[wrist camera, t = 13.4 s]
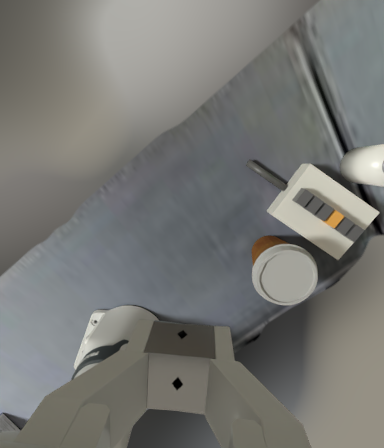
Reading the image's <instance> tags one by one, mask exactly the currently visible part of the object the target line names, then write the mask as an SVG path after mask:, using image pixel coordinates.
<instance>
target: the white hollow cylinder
mask: <svg viewBox="0 0 384 448" xmlns="http://www.w3.org/2000/svg"><path fill="white" fill-rule="evenodd" d="M340 172H341V175H342V176H343V178H344V179H345V180H347V181H349V182H351V183H359V184H367V185H376V186H384V144H381V145H373V146H365V147H357V148H354V149H351V150H350V151H348V152H347V153H346V154H345V155H344V156H343V158H342V160H341V163H340Z"/></svg>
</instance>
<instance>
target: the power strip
mask: <svg viewBox="0 0 384 448" xmlns="http://www.w3.org/2000/svg"><path fill="white" fill-rule="evenodd" d="M246 166H247V167H249V168H250V169H252V170H253V171H255V172H256V173H257V174H259V175H260V176H262V177H263V178H265V179H266V180H268V181H269V182H270V183H272V184H273V185H275V186H276V187H278V188H279V189H281V190H282V191H281V192H280V194H279V195H278V196H277V198H276V199H275V200H274V202H273V203H272V204H271V206H270V207H269V208H268V210H267V212H269V213H270V214H271V215H272V216H274V217H275V218H277V219H278V220H280V221H281V222H283V223H284V224H286V225H287V226H289V227H290V228H291V229H293V230H294V231H296V232H297V233H299V234H300V235H302V236H303V237H305V238H306V239H308V240H309V241H311V242H312V243H313V244H315V245H316V246H318V247H319V248H321V249H322V250H324V251H325V252H327V253H328V254H330V255H331V256H333V257H334V258H335V259H337V260H339V259H340V258H341V257H342V255H343V254H344V253H345V252H346V251H347V250H348V249H349V247H350V246H351V245H352V244H353V243H354V242H355V241H356V240H357V239H358V237H359V236H360V235H361V234H362V233H363V232H364V231H365V229H366V228H367V227H368V226H369V224H370V223H371V222H372V221H373V220H374V219H375V217H376V216H377V215H378V214H379V213H380V212H378V211H377V210H375V209H374V208H372V207H371V206H370V205H368V204H367V203H365V202H364V201H363V200H361V199H360V198H358V197H357V196H356V195H354V194H353V193H351V192H350V191H348V190H347V189H346V188H344V187H343V186H341V185H340V184H339V183H337V182H336V181H334V180H333V179H331V178H330V177H329V176H327V175H326V174H324V173H323V172H322V171H320V170H319V169H317V168H316V167H314V166H313V165H312V164H301V166H300V167H299V168H298V170H297V171H296V172H295V174H294V175H293V176H292V178H291V179H290V180H289V182H288V183H287V184H285V183H283V182H282V181H280V180H279V179H277V178H276V177H275V176H273V175H272V174H270V173H269V172H267V171H266V170H264V169H263V168H262V167H260V166H259V165H257V164H256V163H254V162H253V161H251V160H249V161H248V162H247V164H246Z"/></svg>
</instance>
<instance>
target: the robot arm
mask: <svg viewBox="0 0 384 448" xmlns="http://www.w3.org/2000/svg"><path fill="white" fill-rule="evenodd" d="M95 320H96V321H97V322H96V321H95ZM74 368H75V372H74V374H73V376H72V380H71V381H70V382H68V383H66V384H65V385H63V386H61V387H60V388H58V389H57V390H55V391H53V392H52V393H50V394H49V395H47V396H45V397H44V399H43V400H42V402H41V403H40V405H39V406H38V407H37V409H36V410H35V412H34V413H33V414H32V416H31V417H30V419H29V420H28V421H27V423H26V424H25V426H24V427H23V429H22V430H21V431H20V432H17V431H6V432H0V448H127V444H128V441H129V437H130V433H131V430H132V426H133V425H134V424H135V423H136V422H137V420H138V419H139V418H140V417H141V416H142V415H143V413H144V412H145V411H146V408H147V409H161V410H175V411H183V412H191V413H197V414H205V417H206V419H207V421H208V423H209V424H210V427H211V429H212V430H213V432H214V434H215V436H216V438H217V440H218V442H219V444H220V446H221V447H222V448H311V445H310V443H309V440H308V437H307V435H306V432H305V430H304V427H303V425H302V423H301V422H300V421H299V420H298V419H297V418H296V417H295V416H294V415H293V414H292V413H291V412H290V411H289V410H288V409H287V408H286V407H285V406H284V405H283V404H282V403H281V402H280V401H279V400H278V399H277V398H276V397H275V396H274V395H273V394H272V393H271V392H270V391H269V390H268V389H267V388H265V387H264V385H263V384H261V383H260V382H259V380H257V379H256V378H255V377H254V376H253V375H252V374H251V373H250V372H249V371H248V370H247V369H246V368H245V367H244V366H243V365H242V364H241V363H240V362H237V361H235V358H234V352H233V345H232V339H231V332H230V328H229V327H226V326H206V325H192V324H184V323H175V322H167V321H159V320H158V319H157V317H156V316H154V315H153V314H152V313H151V312H149V311H147V310H145V309H143V308H141V307H137V306H120V307H117V308H114V309H111V310H96V311H94V312H93V314H92V316H91V319H90V321H89V324H88V327H87V330H86V333H85V335H84V338H83V341H82V344H81V347H80V349H79V352H78V355H77V358H76V361H75V363H74Z"/></svg>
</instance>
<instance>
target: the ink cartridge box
mask: <svg viewBox="0 0 384 448" xmlns="http://www.w3.org/2000/svg"><path fill="white" fill-rule="evenodd" d="M6 431H17V432H20V431H21V430H20V429H19V428H18V427H17V426H15V425H14V424H13V423H12V422H11V421H10V420H9V419H8V418H7V417H6V416H5V415H4V414H3V413H1V414H0V432H6Z"/></svg>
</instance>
